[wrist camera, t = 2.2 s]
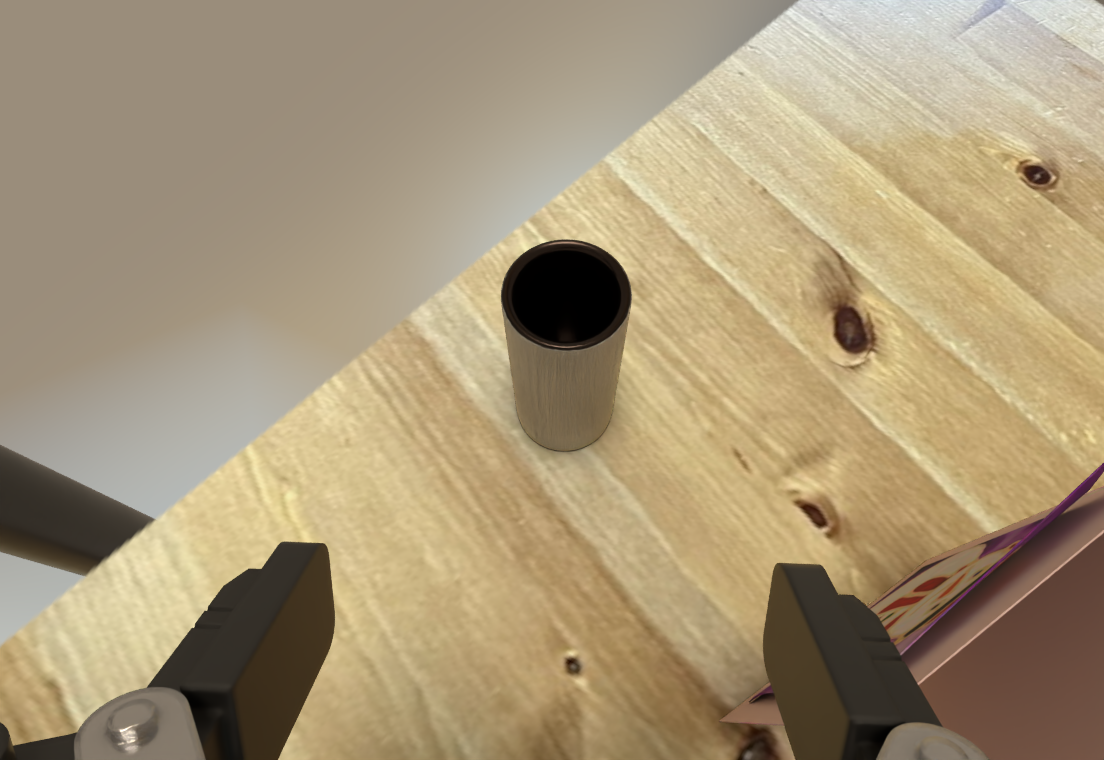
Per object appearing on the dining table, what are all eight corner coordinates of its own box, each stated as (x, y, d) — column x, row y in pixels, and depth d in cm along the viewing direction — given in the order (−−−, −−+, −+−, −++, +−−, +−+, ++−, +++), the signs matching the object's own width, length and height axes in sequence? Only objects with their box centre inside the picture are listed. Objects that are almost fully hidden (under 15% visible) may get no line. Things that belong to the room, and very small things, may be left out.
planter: (584, 469, 33) (593, 372, 24) (498, 424, 34) (475, 314, 25) (628, 389, 35) (654, 270, 25) (546, 349, 36) (541, 218, 26)
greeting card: (913, 543, 31) (1181, 413, 18) (1048, 699, 29) (1485, 686, 15) (705, 701, 29) (833, 690, 15) (833, 887, 26) (1125, 1076, 13)
